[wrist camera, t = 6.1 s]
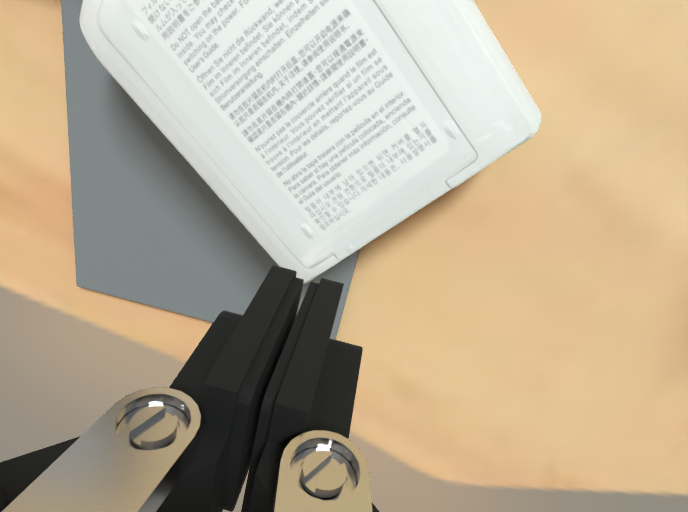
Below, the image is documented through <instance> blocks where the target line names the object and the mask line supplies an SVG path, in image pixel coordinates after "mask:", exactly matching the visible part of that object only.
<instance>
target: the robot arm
mask: <svg viewBox="0 0 688 512" xmlns="http://www.w3.org/2000/svg"><path fill="white" fill-rule="evenodd" d="M296 274H297V272H296V271H294V270H291V269H287V268H283V267H279V266H275V265H273V266H272V267H271V269H270V271H269V272H268V274H267V276H266V277H265V279H264V281H263V282H262V284H261V286H260V288H259V289H258V291H257V293H256V294H255V296H254V298H253V299H252V301H251V303H250V304H249V306H248V308H247V309H246V311H245V313H244V315H240V314H236V313H232V312H229V311H225V310H224V311H222V312H221V313H220V314H219V315H218V317H217V318H216V319H215V321H214V322H213V324H212V325H211V327H210V328H209V330H208V331H207V333H206V334H205V336H204V337H203V339H202V340H201V342H200V343H199V345H198V346H197V347H196V349H195V350H194V352H193V353H192V355H191V356H190V358H189V359H188V361H187V362H186V364H185V365H184V367H183V368H182V370H181V371H180V372H179V374H178V376H177V377H176V378H175V380H174V381H173V383H172V384H171V386H170V387H169V388H165V387H153V388H147V389H142V390H138V391H136V392H134V393H131V394H129V395H126V396H125V397H124V398H122V399H121V400H120V401H118V402H117V403H115V405H113V406H112V407H111V408H110V409H109V410H108V411H107V412H106V413H105V414H104V415H103V416H102V417H101V418H100V419H99V420H98V421H96V422H95V423H94V424H93V425H92V426H91V427H90V428H89V429H88V430H87V431H86V432H85V433H84V434H83V435H82V436H80V437H77V438H74V439H71V440H68V441H65V442H62V443H59V444H56V445H53V446H50V447H47V448H44V449H41V450H37V451H34V452H31V453H28V454H25V455H22V456H19V457H16V458H13V459H10V460H7V461H4V462H1V463H0V512H222V510H223V509H225V510H228V511H231V512H232V511H233V510H234V507H235V505H236V502H237V500H238V497H239V494H240V492H241V488H242V486H243V484H244V481H245V478H246V476H247V473H248V470H249V473H248V479H247V484H246V489H245V494H244V500H243V505H242V510H241V512H379V511H378V510H377V508H376V507H375V506H374V505H373V503H372V499H371V484H370V472H369V468H368V464H367V460H366V459H365V457H364V455H363V454H362V452H361V450H360V449H359V448H358V447H357V446H356V445H355V444H354V443H353V442H352V441H351V440H349V439H348V438H349V432H350V425H351V419H352V413H353V406H354V400H355V394H356V388H357V381H358V375H359V369H360V362H361V356H362V347H360V346H356V345H352V344H349V343H345V342H341V341H337V340H334V339H330V336H331V332H332V328H333V324H334V320H335V317H336V313H337V309H338V305H339V301H340V297H341V294H342V290H343V286H344V283H340V282H336V281H332V280H328V279H325V278H321V280H320V282H319V283H315V282H312V281H311V282H310V284H309V286H308V289H307V291H306V294H305V296H304V299H303V301H302V304H301V306H300V309H299V311H298V306H299V302H300V297H301V292H302V288H303V283H304V279H300V278H297V277H296ZM297 311H298V314H297ZM249 467H250V468H249Z"/></svg>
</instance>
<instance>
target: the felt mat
mask: <svg viewBox="0 0 688 512" xmlns="http://www.w3.org/2000/svg"><path fill="white" fill-rule="evenodd" d="M82 2H83V0H61V5H62V24H63V42H64V61H65V79H66V98H67V116H68V135H69V153H70V172H71V190H72V209H73V227H74V246H75V264H76V283H77V286H79V287H82V288H86V289H90V290H94V291H97V292H101V293H105V294H109V295H112V296H116V297H120V298H123V299H127V300H131V301H135V302H138V303H142V304H146V305H150V306H153V307H157V308H161V309H164V310H168V311H172V312H176V313H179V314H183V315H187V316H191V317H194V318H198V319H202V320H206V321H209V322H214V321H215V319H216V318H217V317H218V315H219V314H220V313H221V312H222V311H224V310H225V311H229V312H232V313H236V314H240V315H244V313H245V311H246V309H247V308H248V306H249V304H250V303H251V301H252V299H253V298H254V296H255V294H256V293H257V291H258V289H259V288H260V286H261V284H262V282H263V281H264V279H265V277H266V276H267V274H268V272H269V271H270V269H271V267H272V266H273V265H275V266H279V265H278V264H277V263H276V262H275V261H274V260H273V259H272V258H271V256H270V255H269V254H268V253H267V252H266V250H265V249H264V248H263V247H262V246H261V245H260V244H259V243H258V241H257V240H256V239H255V238H254V237H253V236H252V235H251V233H250V232H249V231H248V230H247V229H246V228H245V226H244V225H243V224H242V223H241V222H240V221H239V220H238V218H237V217H236V216H235V215H234V214H233V213H232V212H231V210H230V209H229V208H228V207H227V206H226V205H225V203H224V202H223V201H222V200H221V199H220V198H219V197H218V196H217V195H216V193H215V192H214V191H213V190H212V189H211V188H210V186H209V185H208V184H207V183H206V182H205V181H204V180H203V179H202V177H201V176H200V175H199V174H198V173H197V172H196V171H195V169H194V168H193V167H192V166H191V165H190V164H189V162H188V161H187V160H186V159H185V158H184V157H183V156H182V155H181V154H180V152H179V151H178V150H177V149H176V148H175V147H174V145H173V144H172V143H171V142H170V141H169V140H168V139H167V138H166V137H165V135H164V134H163V133H162V132H161V131H160V130H159V129H158V127H157V126H156V125H155V124H154V123H153V122H152V121H151V120H150V118H149V117H148V116H147V115H146V114H145V113H144V112H143V111H142V109H141V108H140V107H139V106H138V105H137V104H136V103H135V101H134V100H133V99H132V98H131V97H130V96H129V95H128V93H127V92H126V91H125V90H124V89H123V88H122V87H121V86H120V84H119V83H118V82H117V81H116V80H115V79H114V78H113V76H112V75H111V74H110V73H109V72H108V71H107V70H106V68H105V67H104V66H103V65H102V64H101V62H100V61H99V60H98V59H97V57H96V56H95V54H94V53H93V51H92V50H91V48H90V46H89V45H88V43H87V41H86V39H85V37H84V35H83V33H82V30H81V27H80V19H79V18H80V13H81V7H82ZM359 250H360V249H358V250H357V251H355V252H354V253H352V254H351V255H349V256H347V257H346V258H344V259H343V260H341V261H340V262H338V263H337V264H335V265H334V266H332V267H331V268H329V269H328V270H326V271H324V272H323V273H321V274H320V275H318V276H317V277H316V278H314V279H313V280H311V281H312V282H315V283H319V282H320V280H321V278H325V279H328V280H332V281H336V282H340V283H344V286H343V290H342V294H341V297H340V301H339V305H338V309H337V313H336V317H335V320H334V324H333V328H332V332H331V336H330V339H334V340H335V339H336V335H337V332H338V328H339V324H340V321H341V317H342V313H343V309H344V306H345V302H346V298H347V294H348V291H349V287H350V283H351V280H352V276H353V272H354V268H355V265H356V261H357V257H358V253H359ZM279 267H280V266H279ZM311 281H310V282H311ZM310 282H308V283H303V288H302V292H301V297H300V302H299V306H298V311H299V309H300V306H301V304H302V301H303V299H304V296H305V294H306V291H307V289H308V286H309V284H310ZM298 311H297V314H298Z"/></svg>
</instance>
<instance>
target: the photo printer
mask: <svg viewBox="0 0 688 512" xmlns="http://www.w3.org/2000/svg"><path fill="white" fill-rule="evenodd" d="M79 19H80V27H81V30H82V33H83V35H84V37H85V39H86V41H87V43H88V45H89V46H90V48H91V50H92V51H93V53H94V54H95V56H96V57H97V59H98V60H99V61H100V62H101V64H102V65H103V66H104V67H105V68H106V70H107V71H108V72H109V73H110V74H111V75H112V76H113V78H114V79H115V80H116V81H117V82H118V83H119V84H120V86H121V87H122V88H123V89H124V90H125V91H126V92H127V93H128V95H129V96H130V97H131V98H132V99H133V100H134V101H135V103H136V104H137V105H138V106H139V107H140V108H141V109H142V111H143V112H144V113H145V114H146V115H147V116H148V117H149V118H150V120H151V121H152V122H153V123H154V124H155V125H156V126H157V127H158V129H159V130H160V131H161V132H162V133H163V134H164V135H165V137H166V138H167V139H168V140H169V141H170V142H171V143H172V144H173V145H174V147H175V148H176V149H177V150H178V151H179V152H180V154H181V155H182V156H183V157H184V158H185V159H186V160H187V161H188V162H189V164H190V165H191V166H192V167H193V168H194V169H195V171H196V172H197V173H198V174H199V175H200V176H201V177H202V179H203V180H204V181H205V182H206V183H207V184H208V185H209V186H210V188H211V189H212V190H213V191H214V192H215V193H216V195H217V196H218V197H219V198H220V199H221V200H222V201H223V202H224V203H225V205H226V206H227V207H228V208H229V209H230V210H231V212H232V213H233V214H234V215H235V216H236V217H237V218H238V220H239V221H240V222H241V223H242V224H243V225H244V226H245V228H246V229H247V230H248V231H249V232H250V233H251V235H252V236H253V237H254V238H255V239H256V240H257V241H258V243H259V244H260V245H261V246H262V247H263V248H264V249H265V250H266V252H267V253H268V254H269V255H270V256H271V258H272V259H273V260H274V261H275V262H276V263H277V264H278V265H279V266H280V267H283V268H287V269H291V270H294V271H296V272H297V274H296V277H297V278H300V279H304V283H308V282H310V281H311V280H313V279H314V278H316V277H317V276H318V275H320V274H321V273H323V272H324V271H326V270H328V269H329V268H331V267H332V266H334V265H335V264H337V263H338V262H340V261H341V260H343V259H344V258H346V257H347V256H349V255H351V254H352V253H354V252H355V251H357V250H358V249H360V248H361V247H363V246H365V245H366V244H368V243H369V242H371V241H372V240H374V239H375V238H377V237H379V236H380V235H382V234H383V233H385V232H386V231H388V230H389V229H391V228H392V227H394V226H395V225H397V224H398V223H400V222H402V221H403V220H405V219H406V218H408V217H409V216H411V215H412V214H414V213H415V212H417V211H418V210H420V209H422V208H423V207H425V206H426V205H428V204H429V203H431V202H432V201H434V200H435V199H437V198H438V197H440V196H442V195H443V194H445V193H446V192H448V191H449V190H450V189H452V188H454V187H456V186H458V185H460V184H461V183H463V182H464V181H466V180H467V179H469V178H470V177H472V176H473V175H475V174H476V173H478V172H479V171H480V170H482V169H483V168H485V167H487V166H488V165H490V164H491V163H493V162H494V161H496V160H497V159H499V158H500V157H502V156H504V155H505V154H507V153H508V152H510V151H511V150H513V149H515V148H516V147H518V146H520V145H521V144H523V143H525V142H526V141H528V140H529V139H531V138H532V137H533V136H534V135H535V133H536V132H537V131H538V129H539V127H540V124H541V113H540V111H539V109H538V107H537V106H536V104H535V102H534V101H533V99H532V97H531V96H530V94H529V92H528V91H527V89H526V87H525V86H524V84H523V82H522V81H521V79H520V77H519V76H518V74H517V72H516V71H515V69H514V67H513V66H512V64H511V62H510V61H509V59H508V57H507V56H506V54H505V52H504V51H503V49H502V47H501V46H500V44H499V42H498V41H497V39H496V37H495V36H494V34H493V32H492V31H491V29H490V27H489V26H488V24H487V23H486V21H485V19H484V18H483V16H482V14H481V13H480V11H479V9H478V8H477V6H476V4H475V3H474V1H473V0H83V2H82V7H81V13H80V18H79Z"/></svg>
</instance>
